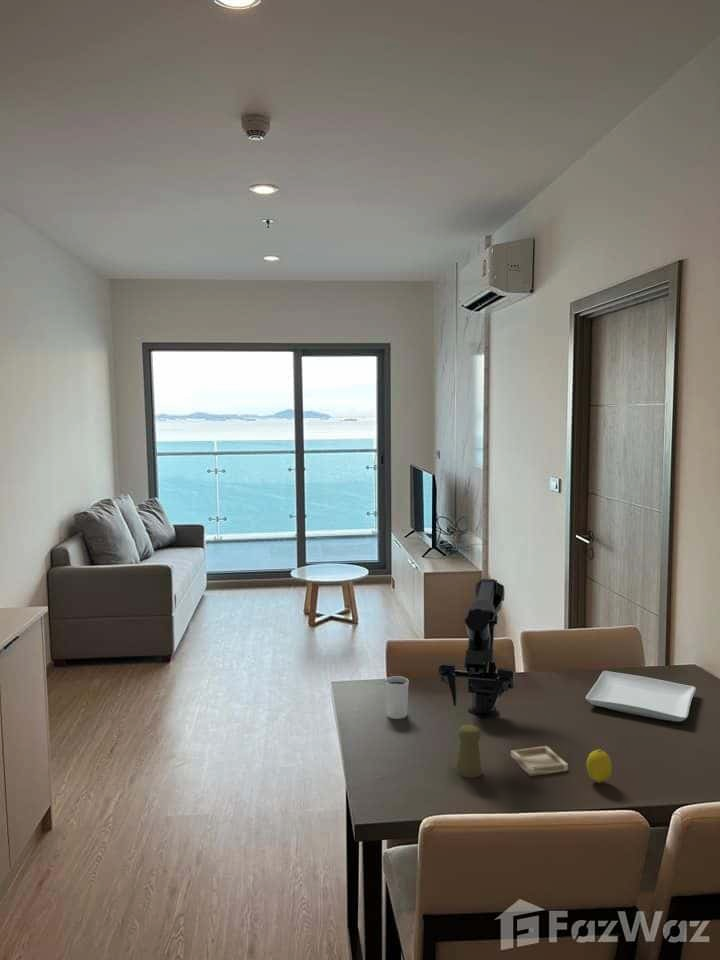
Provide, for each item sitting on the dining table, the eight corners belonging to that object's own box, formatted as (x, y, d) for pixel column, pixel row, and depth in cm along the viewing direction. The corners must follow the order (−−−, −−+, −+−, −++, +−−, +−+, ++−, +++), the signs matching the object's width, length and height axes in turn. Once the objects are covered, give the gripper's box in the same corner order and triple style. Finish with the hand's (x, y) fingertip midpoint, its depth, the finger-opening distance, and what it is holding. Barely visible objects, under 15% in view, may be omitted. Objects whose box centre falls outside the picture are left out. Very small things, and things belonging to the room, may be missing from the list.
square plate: (686, 730, 196) (687, 716, 195) (583, 710, 209) (584, 697, 209) (696, 696, 219) (696, 684, 219) (603, 680, 233) (603, 668, 232)
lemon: (582, 777, 170) (583, 744, 169) (604, 776, 170) (606, 743, 170) (591, 789, 164) (592, 755, 164) (615, 788, 165) (616, 754, 164)
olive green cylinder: (466, 780, 169) (466, 734, 168) (451, 768, 174) (451, 724, 173) (487, 774, 171) (487, 729, 170) (471, 763, 177) (472, 719, 176)
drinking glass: (403, 708, 209) (403, 675, 208) (411, 717, 203) (412, 683, 202) (381, 711, 207) (381, 677, 206) (389, 720, 201) (389, 686, 200)
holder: (510, 756, 180) (510, 750, 180) (546, 751, 183) (546, 745, 182) (529, 776, 170) (530, 769, 170) (567, 770, 173) (567, 764, 173)
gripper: (439, 632, 184) (432, 690, 175) (514, 638, 179) (511, 698, 170) (444, 652, 192) (437, 709, 183) (515, 659, 188) (512, 717, 178)
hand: (473, 707), depth 178 cm, fingers open, 9 cm apart
